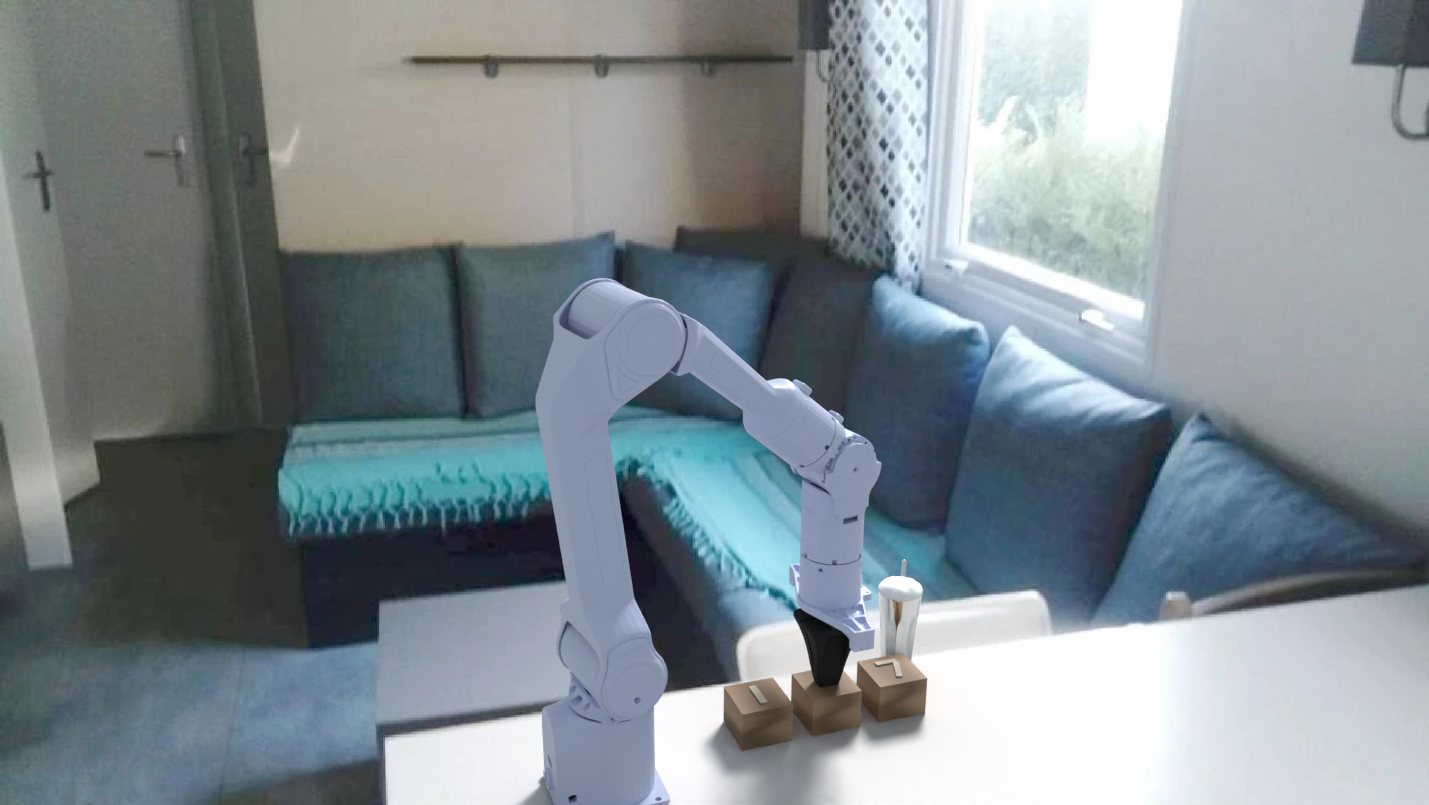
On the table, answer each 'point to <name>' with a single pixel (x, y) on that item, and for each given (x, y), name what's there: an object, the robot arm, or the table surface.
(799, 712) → the blank block
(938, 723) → the table surface
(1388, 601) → the table surface
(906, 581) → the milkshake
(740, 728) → the digit block one
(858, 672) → the digit block seven
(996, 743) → the table surface
